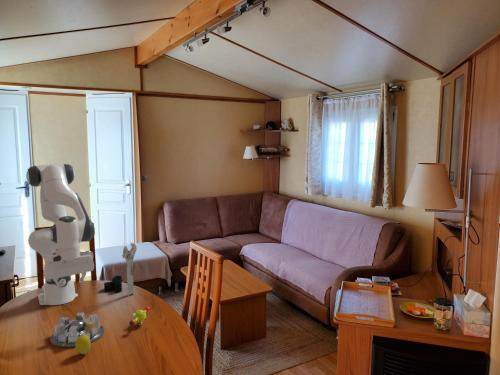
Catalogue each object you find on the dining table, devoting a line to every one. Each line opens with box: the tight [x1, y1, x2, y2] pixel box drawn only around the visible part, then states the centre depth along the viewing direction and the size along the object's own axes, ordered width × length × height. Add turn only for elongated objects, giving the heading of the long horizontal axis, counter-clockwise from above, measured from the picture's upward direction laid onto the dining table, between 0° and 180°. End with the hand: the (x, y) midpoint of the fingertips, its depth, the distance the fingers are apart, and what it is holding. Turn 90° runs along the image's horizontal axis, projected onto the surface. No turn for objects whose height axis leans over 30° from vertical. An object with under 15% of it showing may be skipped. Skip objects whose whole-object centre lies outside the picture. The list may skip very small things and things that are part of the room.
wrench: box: [121, 242, 137, 297], centre depth 211 cm, size 8×2×30 cm, turn 134°
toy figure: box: [128, 306, 151, 327], centre depth 179 cm, size 18×6×7 cm, turn 169°
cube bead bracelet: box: [53, 312, 101, 343], centre depth 168 cm, size 18×18×6 cm
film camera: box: [103, 274, 123, 294], centre depth 221 cm, size 15×10×9 cm, turn 21°
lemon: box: [74, 334, 92, 355], centre depth 152 cm, size 6×6×8 cm
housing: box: [49, 319, 105, 349], centre depth 168 cm, size 21×21×6 cm
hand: (70, 285), depth 171 cm, fingers open, 8 cm apart
